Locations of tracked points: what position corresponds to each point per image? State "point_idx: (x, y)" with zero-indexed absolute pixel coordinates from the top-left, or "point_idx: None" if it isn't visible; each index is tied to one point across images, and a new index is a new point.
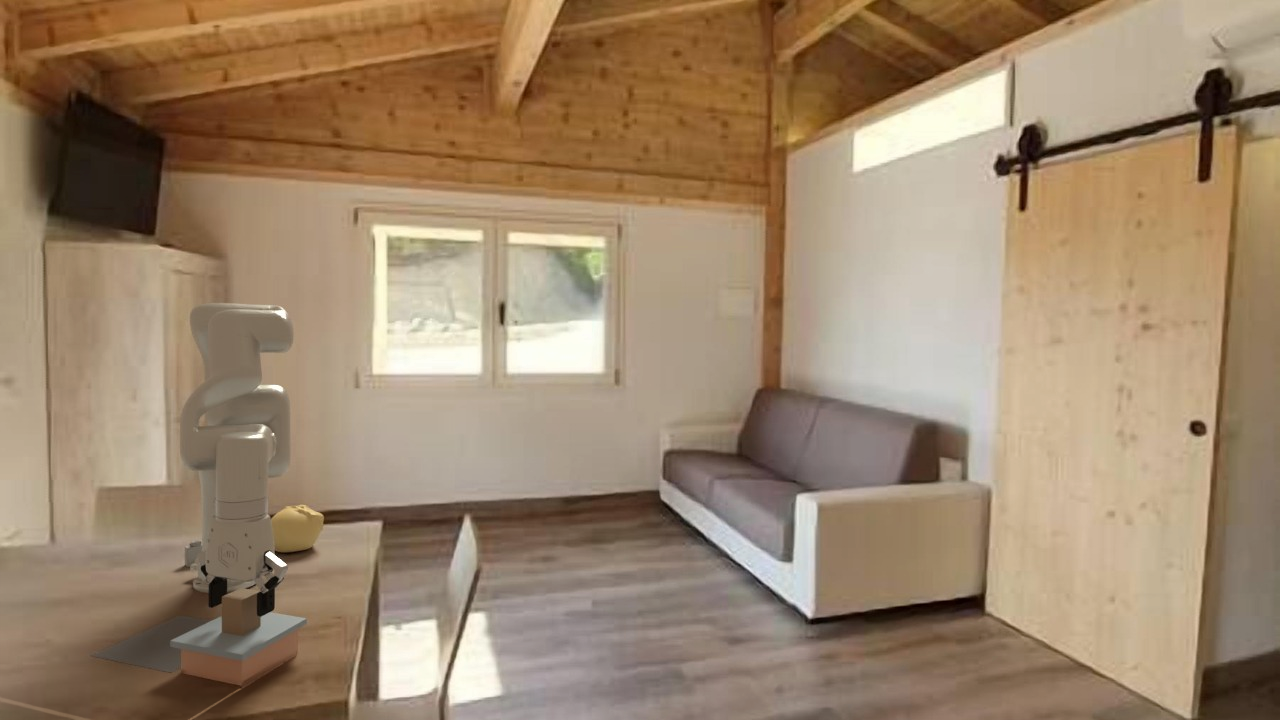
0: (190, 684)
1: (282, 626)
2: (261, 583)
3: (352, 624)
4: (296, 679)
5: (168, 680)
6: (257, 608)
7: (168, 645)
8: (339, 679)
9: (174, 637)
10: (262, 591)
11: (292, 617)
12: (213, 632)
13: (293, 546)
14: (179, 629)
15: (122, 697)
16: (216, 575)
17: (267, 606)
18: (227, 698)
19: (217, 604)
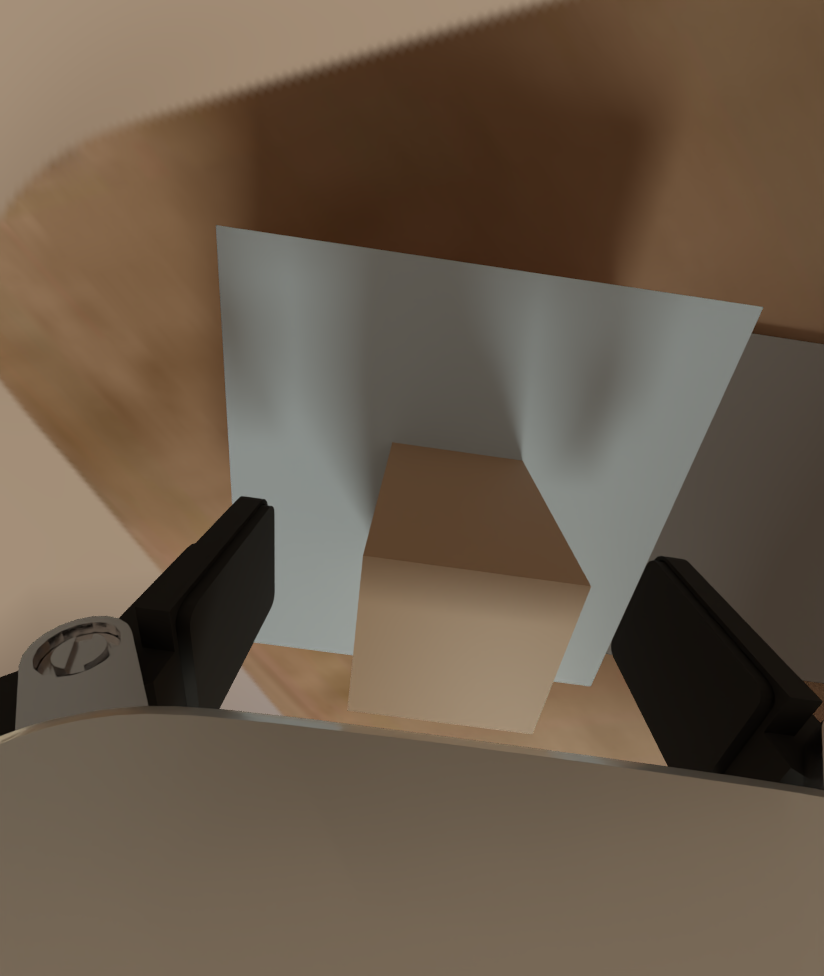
0: (534, 265)
1: (279, 564)
2: (44, 716)
3: (282, 706)
4: (178, 385)
5: (644, 276)
6: (242, 524)
7: (782, 508)
8: (44, 414)
9: (787, 561)
10: (120, 635)
11: (303, 639)
12: (564, 450)
13: None
14: (796, 610)
15: (775, 75)
16: (810, 806)
17: (183, 555)
18: (311, 186)
19: (638, 593)
